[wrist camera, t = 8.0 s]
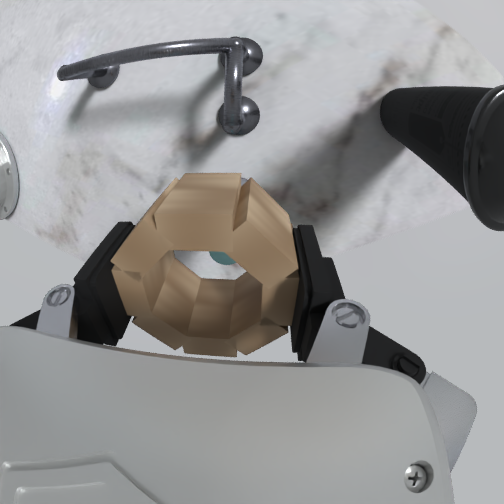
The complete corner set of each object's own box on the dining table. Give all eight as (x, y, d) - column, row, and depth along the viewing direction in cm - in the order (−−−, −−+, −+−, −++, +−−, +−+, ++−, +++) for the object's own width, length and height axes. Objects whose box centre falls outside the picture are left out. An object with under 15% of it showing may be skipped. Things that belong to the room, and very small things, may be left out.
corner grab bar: (93, 141, 21) (51, 162, 16) (89, 58, 17) (44, 59, 11) (258, 134, 21) (257, 152, 16) (263, 39, 17) (264, 20, 11)
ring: (136, 175, 10) (93, 214, 7) (296, 175, 10) (310, 217, 7) (159, 293, 14) (139, 347, 11) (283, 299, 14) (287, 358, 11)
